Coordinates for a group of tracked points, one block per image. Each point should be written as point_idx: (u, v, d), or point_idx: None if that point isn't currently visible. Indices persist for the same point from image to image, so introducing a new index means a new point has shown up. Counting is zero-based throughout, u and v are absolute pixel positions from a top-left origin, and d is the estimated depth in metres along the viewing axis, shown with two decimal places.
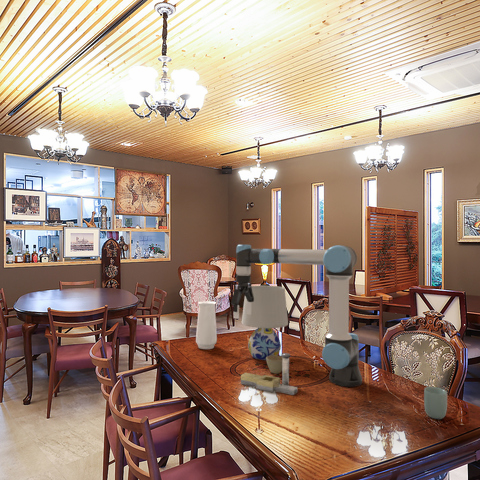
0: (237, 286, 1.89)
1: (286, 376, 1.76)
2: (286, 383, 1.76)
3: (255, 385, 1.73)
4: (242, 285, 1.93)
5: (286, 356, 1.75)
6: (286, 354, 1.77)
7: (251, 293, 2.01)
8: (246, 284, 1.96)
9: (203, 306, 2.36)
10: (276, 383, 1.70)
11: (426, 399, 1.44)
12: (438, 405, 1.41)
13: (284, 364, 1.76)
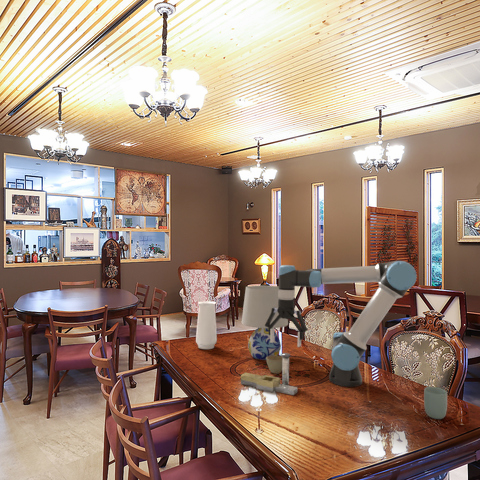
0: None
1: (286, 376, 1.76)
2: (286, 383, 1.76)
3: (255, 385, 1.73)
4: (279, 309, 1.78)
5: (286, 356, 1.75)
6: (286, 354, 1.77)
7: None
8: (288, 310, 1.76)
9: (203, 306, 2.36)
10: (276, 383, 1.70)
11: (426, 399, 1.44)
12: (438, 405, 1.41)
13: (284, 364, 1.76)
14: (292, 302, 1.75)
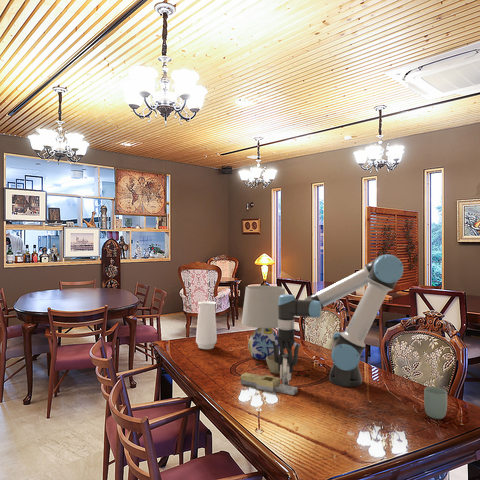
0: None
1: (286, 376, 1.76)
2: (286, 383, 1.76)
3: (255, 385, 1.73)
4: (279, 339, 1.78)
5: (286, 356, 1.75)
6: (286, 354, 1.77)
7: None
8: (288, 340, 1.76)
9: (203, 306, 2.36)
10: (276, 383, 1.70)
11: (426, 399, 1.44)
12: (438, 405, 1.41)
13: (284, 364, 1.76)
14: (292, 332, 1.75)
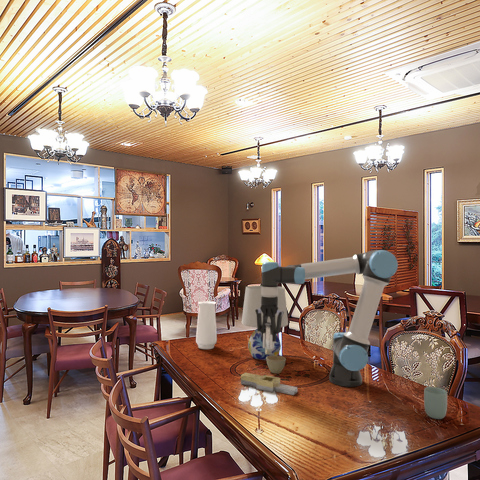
0: None
1: (269, 345, 1.71)
2: (269, 352, 1.71)
3: (255, 385, 1.73)
4: (262, 307, 1.73)
5: (269, 324, 1.71)
6: (269, 322, 1.73)
7: None
8: (271, 307, 1.71)
9: (203, 306, 2.36)
10: (276, 383, 1.70)
11: (426, 399, 1.44)
12: (438, 405, 1.41)
13: (267, 332, 1.72)
14: (275, 299, 1.70)
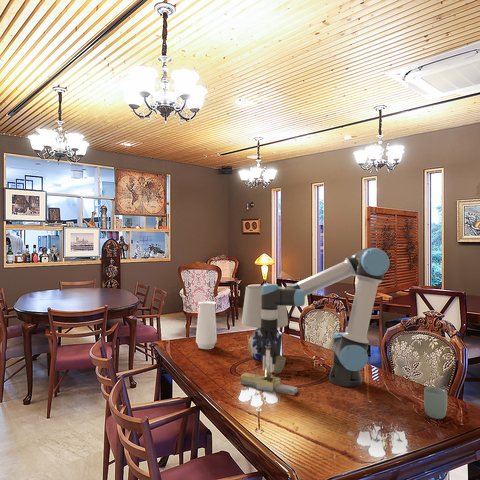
0: None
1: (269, 367, 1.71)
2: (269, 375, 1.71)
3: (255, 385, 1.73)
4: (262, 329, 1.73)
5: (269, 347, 1.71)
6: (269, 345, 1.72)
7: None
8: (271, 330, 1.71)
9: (203, 306, 2.36)
10: (276, 383, 1.70)
11: (426, 399, 1.44)
12: (438, 405, 1.41)
13: (267, 355, 1.71)
14: (275, 322, 1.70)
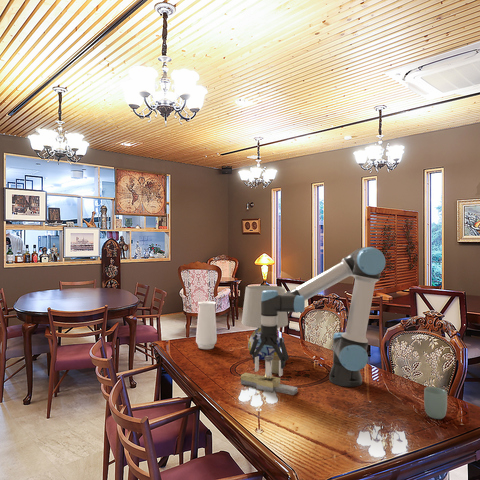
0: None
1: (269, 379, 1.71)
2: None
3: (255, 385, 1.73)
4: (262, 335, 1.73)
5: (269, 358, 1.71)
6: (269, 356, 1.72)
7: None
8: (271, 336, 1.71)
9: (203, 306, 2.36)
10: (276, 383, 1.70)
11: (426, 399, 1.44)
12: (438, 405, 1.41)
13: (267, 367, 1.71)
14: (275, 328, 1.70)
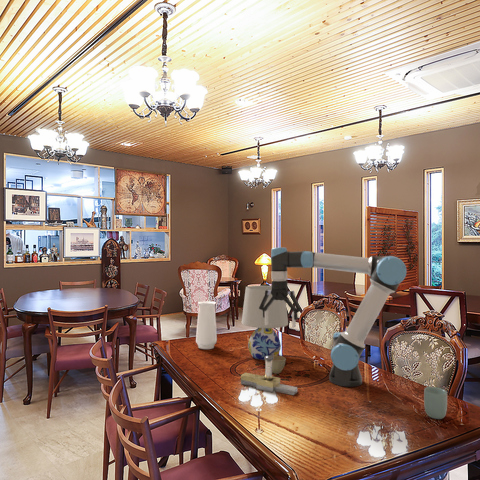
0: None
1: (269, 379, 1.71)
2: None
3: (255, 385, 1.73)
4: (273, 291, 1.79)
5: (269, 359, 1.71)
6: (269, 357, 1.72)
7: None
8: (281, 291, 1.78)
9: (203, 306, 2.36)
10: (276, 383, 1.70)
11: (426, 399, 1.44)
12: (438, 405, 1.41)
13: (267, 367, 1.71)
14: (285, 283, 1.77)
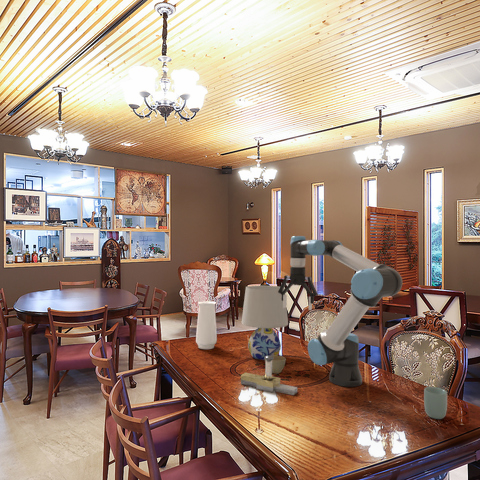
0: None
1: (269, 379, 1.71)
2: None
3: (255, 385, 1.73)
4: (291, 276, 1.94)
5: (269, 359, 1.71)
6: (269, 357, 1.72)
7: (310, 287, 1.89)
8: (299, 276, 1.92)
9: (203, 306, 2.36)
10: (276, 383, 1.70)
11: (426, 399, 1.44)
12: (438, 405, 1.41)
13: (267, 367, 1.71)
14: (303, 269, 1.91)
